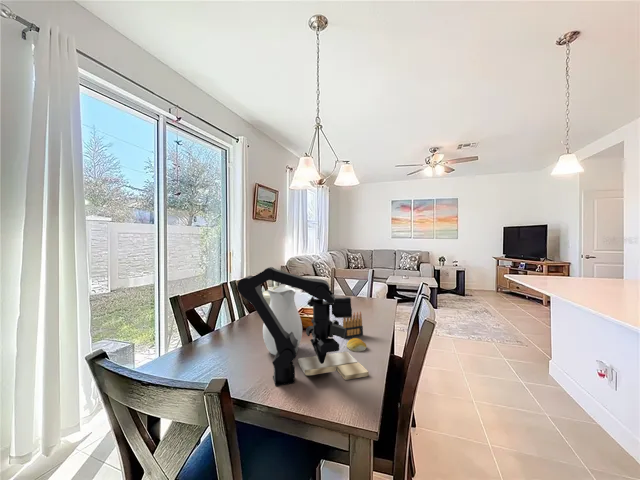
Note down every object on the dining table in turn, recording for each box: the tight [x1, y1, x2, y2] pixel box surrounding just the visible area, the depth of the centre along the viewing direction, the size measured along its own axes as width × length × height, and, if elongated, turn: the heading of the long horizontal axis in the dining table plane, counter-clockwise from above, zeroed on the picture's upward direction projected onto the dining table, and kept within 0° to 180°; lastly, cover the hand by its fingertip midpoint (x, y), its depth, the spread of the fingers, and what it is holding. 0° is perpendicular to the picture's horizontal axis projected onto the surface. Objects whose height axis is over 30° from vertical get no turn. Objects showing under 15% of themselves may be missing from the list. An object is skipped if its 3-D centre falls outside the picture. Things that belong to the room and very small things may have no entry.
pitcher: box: [262, 285, 303, 356], centre depth 126 cm, size 24×17×28 cm
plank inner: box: [304, 366, 337, 376], centre depth 100 cm, size 9×8×2 cm
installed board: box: [297, 351, 359, 375], centre depth 110 cm, size 21×10×2 cm, turn 108°
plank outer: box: [336, 362, 370, 381], centre depth 103 cm, size 9×8×2 cm
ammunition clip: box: [342, 311, 364, 340], centre depth 140 cm, size 11×2×12 cm, turn 112°
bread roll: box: [346, 337, 367, 353], centre depth 126 cm, size 8×9×4 cm
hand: (321, 362), depth 97 cm, fingers closed
